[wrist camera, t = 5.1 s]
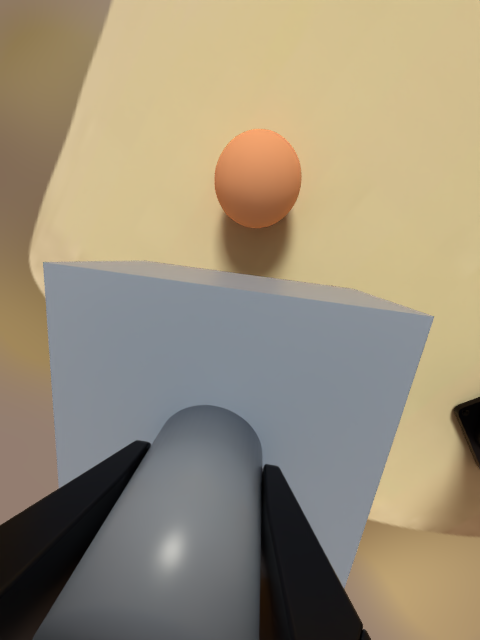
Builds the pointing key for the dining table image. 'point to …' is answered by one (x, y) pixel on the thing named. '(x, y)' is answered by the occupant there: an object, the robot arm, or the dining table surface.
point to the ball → (257, 178)
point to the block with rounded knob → (215, 432)
